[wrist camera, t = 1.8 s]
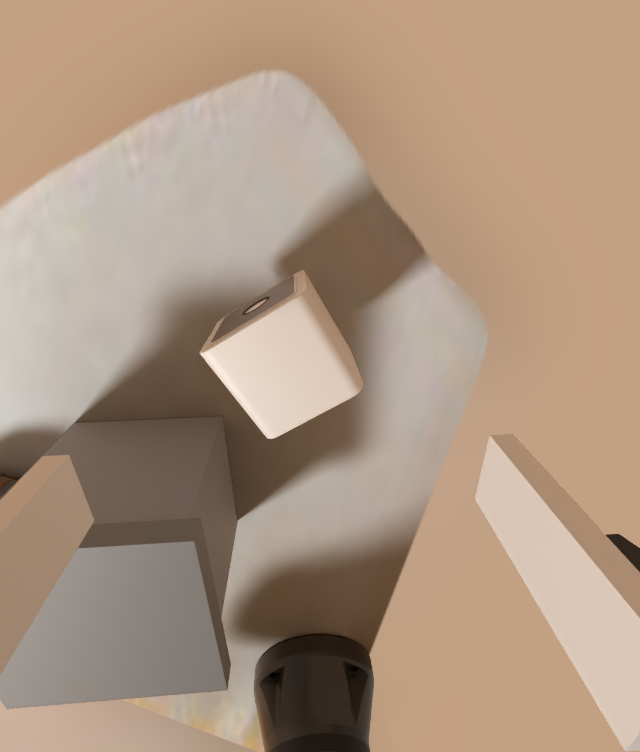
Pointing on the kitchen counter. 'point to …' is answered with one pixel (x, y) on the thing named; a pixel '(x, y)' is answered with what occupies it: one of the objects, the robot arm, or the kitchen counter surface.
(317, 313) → the security camera
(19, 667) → the grey flat-topped box
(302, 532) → the kitchen counter surface
